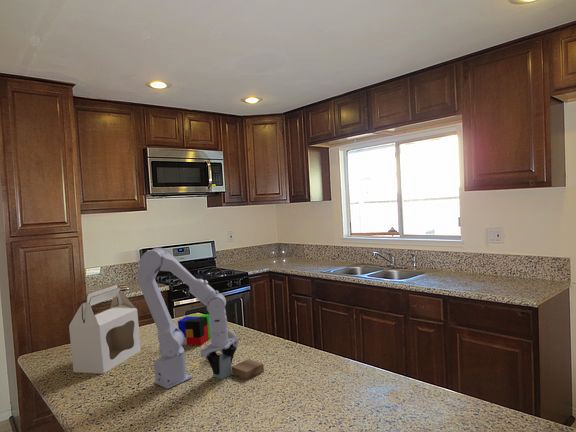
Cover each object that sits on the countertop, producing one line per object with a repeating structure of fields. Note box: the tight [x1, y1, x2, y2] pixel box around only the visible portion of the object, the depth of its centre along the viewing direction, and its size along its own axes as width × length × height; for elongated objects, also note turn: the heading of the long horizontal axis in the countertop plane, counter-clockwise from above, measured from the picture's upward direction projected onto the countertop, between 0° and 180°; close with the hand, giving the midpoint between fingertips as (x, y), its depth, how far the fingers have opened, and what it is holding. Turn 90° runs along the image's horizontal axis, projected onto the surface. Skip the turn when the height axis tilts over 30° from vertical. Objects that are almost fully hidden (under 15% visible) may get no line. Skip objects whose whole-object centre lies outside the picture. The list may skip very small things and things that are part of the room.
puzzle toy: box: [177, 313, 211, 346], centre depth 170 cm, size 10×10×10 cm
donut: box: [218, 328, 239, 354], centre depth 152 cm, size 10×3×10 cm, turn 61°
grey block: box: [212, 353, 233, 380], centre depth 134 cm, size 5×5×6 cm
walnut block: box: [231, 358, 265, 381], centre depth 135 cm, size 8×8×3 cm
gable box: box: [68, 284, 141, 375], centre depth 154 cm, size 22×13×28 cm, turn 165°
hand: (222, 371), depth 134 cm, fingers closed on grey block, 4 cm apart
